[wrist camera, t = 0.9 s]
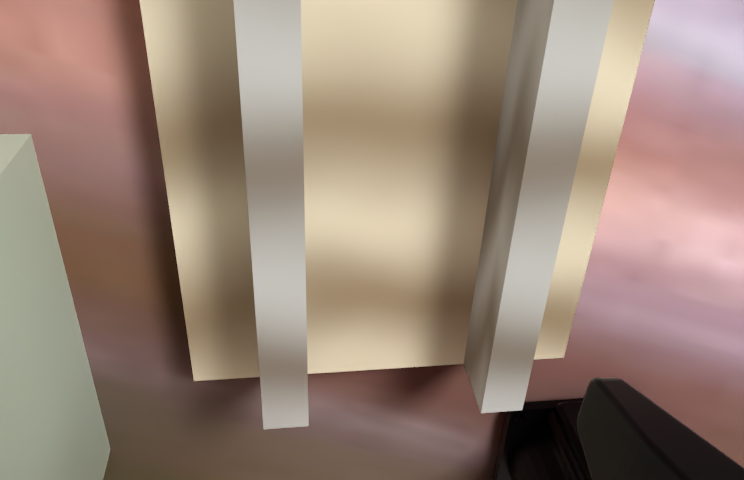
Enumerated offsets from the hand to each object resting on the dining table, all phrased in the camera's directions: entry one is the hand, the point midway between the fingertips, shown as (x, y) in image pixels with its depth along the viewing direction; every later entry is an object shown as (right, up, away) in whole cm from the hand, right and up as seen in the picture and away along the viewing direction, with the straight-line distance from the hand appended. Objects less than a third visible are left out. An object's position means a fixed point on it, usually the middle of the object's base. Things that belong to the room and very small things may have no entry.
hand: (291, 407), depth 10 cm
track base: (+2, +6, +12) cm, 13 cm away
